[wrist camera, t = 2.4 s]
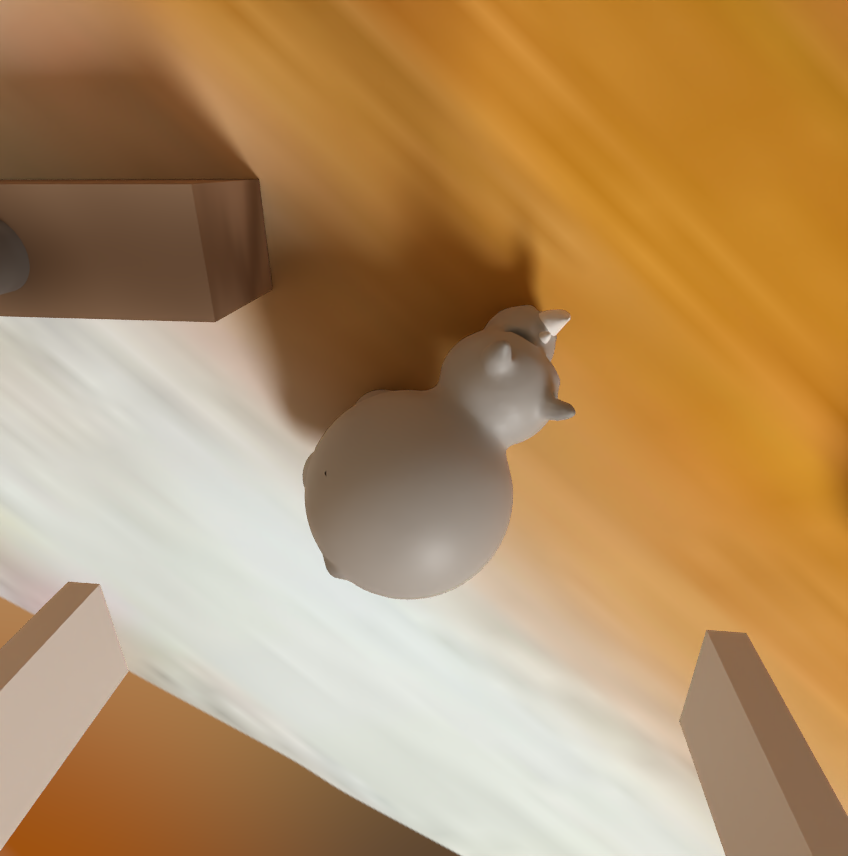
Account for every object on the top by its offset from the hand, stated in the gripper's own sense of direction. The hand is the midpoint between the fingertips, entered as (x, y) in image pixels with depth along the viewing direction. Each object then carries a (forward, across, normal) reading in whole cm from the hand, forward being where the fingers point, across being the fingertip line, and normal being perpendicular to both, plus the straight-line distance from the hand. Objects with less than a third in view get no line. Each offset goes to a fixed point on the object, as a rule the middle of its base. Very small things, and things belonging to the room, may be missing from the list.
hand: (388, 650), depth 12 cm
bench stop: (+13, -14, +7) cm, 20 cm away
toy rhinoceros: (+13, +1, 0) cm, 13 cm away
